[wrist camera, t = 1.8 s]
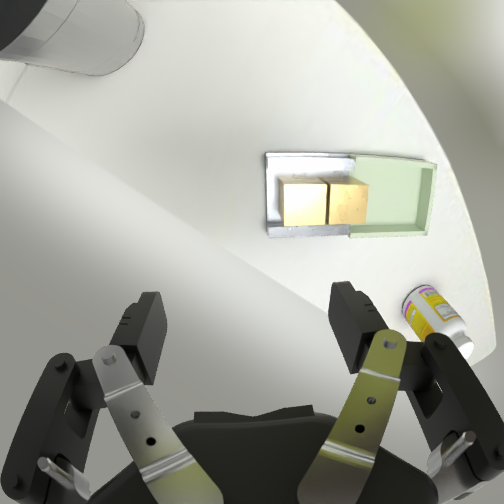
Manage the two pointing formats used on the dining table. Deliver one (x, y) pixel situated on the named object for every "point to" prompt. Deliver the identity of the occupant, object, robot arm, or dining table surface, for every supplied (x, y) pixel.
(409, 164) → the tray
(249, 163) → the dining table surface
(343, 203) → the brass block
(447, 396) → the robot arm
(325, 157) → the slot rail
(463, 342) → the supplement bottle
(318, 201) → the brass block
